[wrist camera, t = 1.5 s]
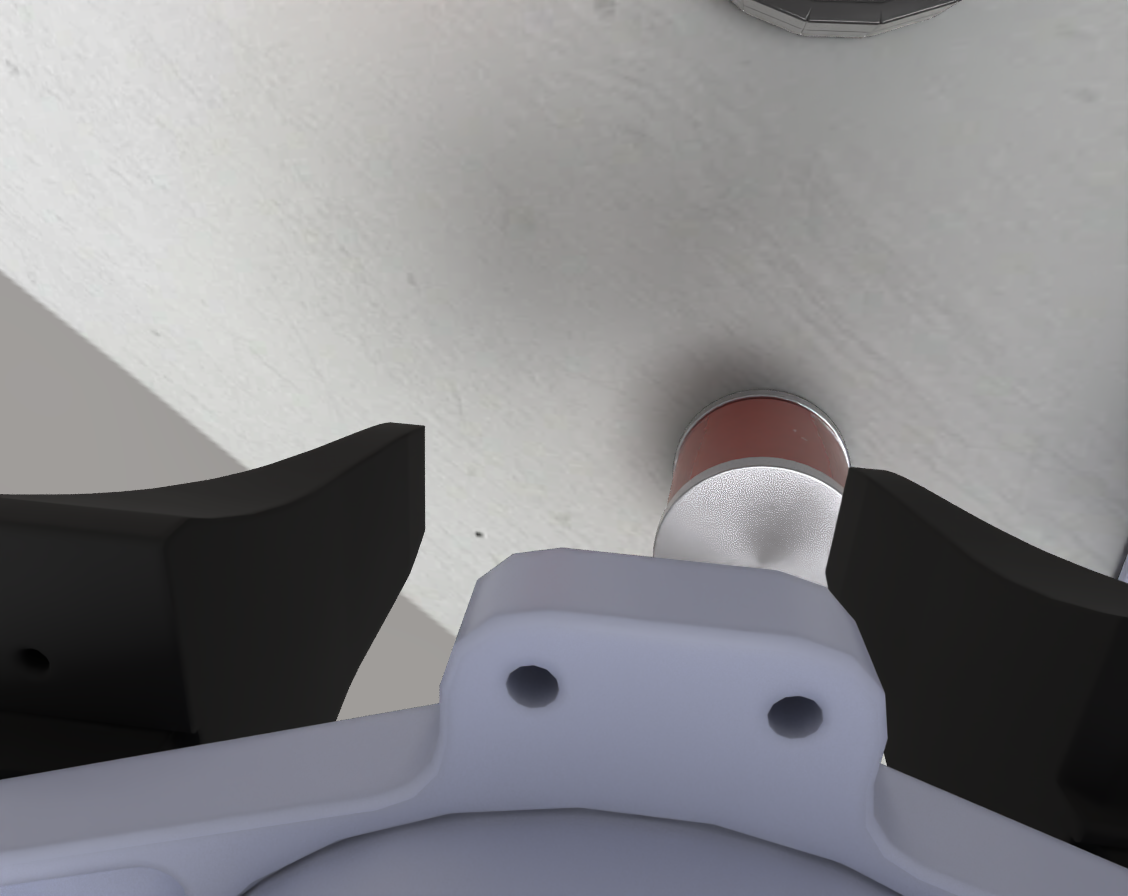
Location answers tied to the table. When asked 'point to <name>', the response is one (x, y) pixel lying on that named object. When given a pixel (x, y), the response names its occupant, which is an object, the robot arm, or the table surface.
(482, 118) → the table surface
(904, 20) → the pan
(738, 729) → the robot arm
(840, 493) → the tin can
